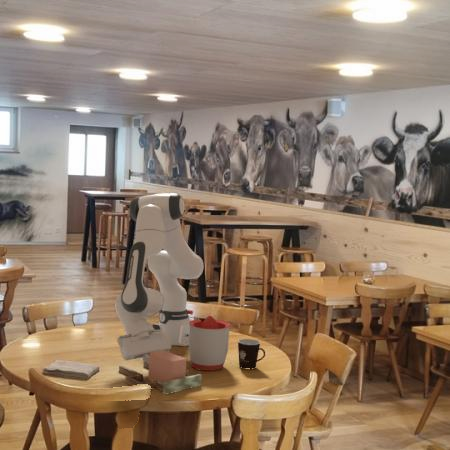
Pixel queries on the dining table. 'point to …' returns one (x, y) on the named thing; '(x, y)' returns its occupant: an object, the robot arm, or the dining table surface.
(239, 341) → the coffee mug
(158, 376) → the terracotta block
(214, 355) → the citrus juicer
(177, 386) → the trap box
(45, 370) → the washcloth
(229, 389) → the dining table surface
